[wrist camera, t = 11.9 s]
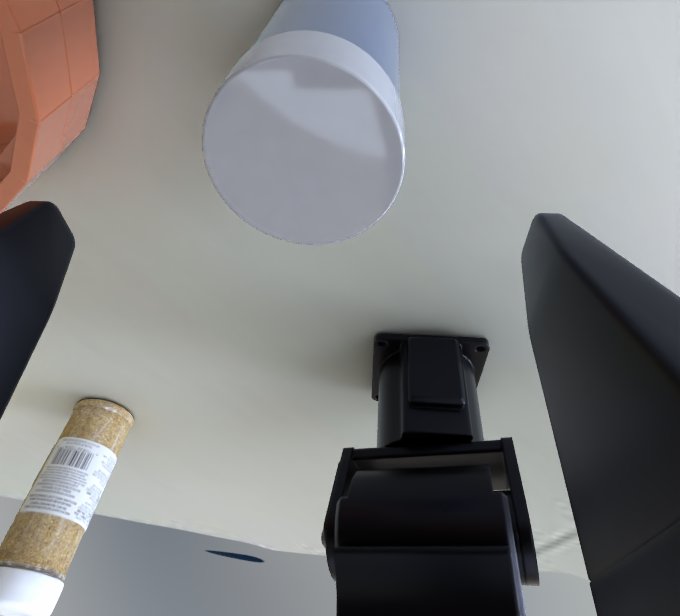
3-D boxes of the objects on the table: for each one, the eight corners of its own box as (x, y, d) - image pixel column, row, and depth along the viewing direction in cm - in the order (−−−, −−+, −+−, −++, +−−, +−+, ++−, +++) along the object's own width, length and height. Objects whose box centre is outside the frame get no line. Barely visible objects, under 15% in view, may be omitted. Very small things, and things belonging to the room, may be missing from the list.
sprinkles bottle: (73, 414, 37) (-36, 610, 28) (80, 389, 34) (-38, 599, 25) (130, 432, 38) (45, 624, 29) (142, 409, 35) (52, 615, 26)
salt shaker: (397, 115, 17) (398, 248, 12) (278, 114, 18) (224, 242, 12) (407, -34, 14) (414, 54, 9) (259, -32, 14) (175, 54, 9)
